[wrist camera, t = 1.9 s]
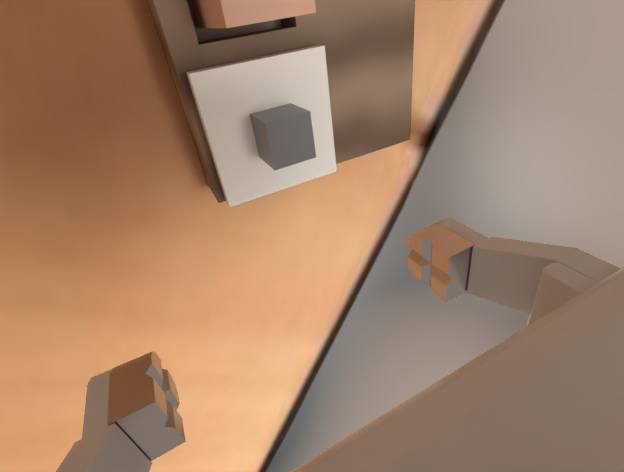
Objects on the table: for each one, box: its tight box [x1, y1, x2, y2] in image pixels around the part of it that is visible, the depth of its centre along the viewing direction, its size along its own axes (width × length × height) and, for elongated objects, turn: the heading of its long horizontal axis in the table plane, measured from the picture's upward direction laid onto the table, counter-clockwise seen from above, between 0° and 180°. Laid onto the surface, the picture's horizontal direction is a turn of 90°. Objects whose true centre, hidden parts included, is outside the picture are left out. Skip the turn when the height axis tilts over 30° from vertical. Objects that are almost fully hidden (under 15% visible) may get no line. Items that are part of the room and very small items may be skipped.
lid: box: [186, 45, 337, 207], centre depth 23 cm, size 9×9×4 cm
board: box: [147, 0, 415, 203], centre depth 25 cm, size 18×18×4 cm
